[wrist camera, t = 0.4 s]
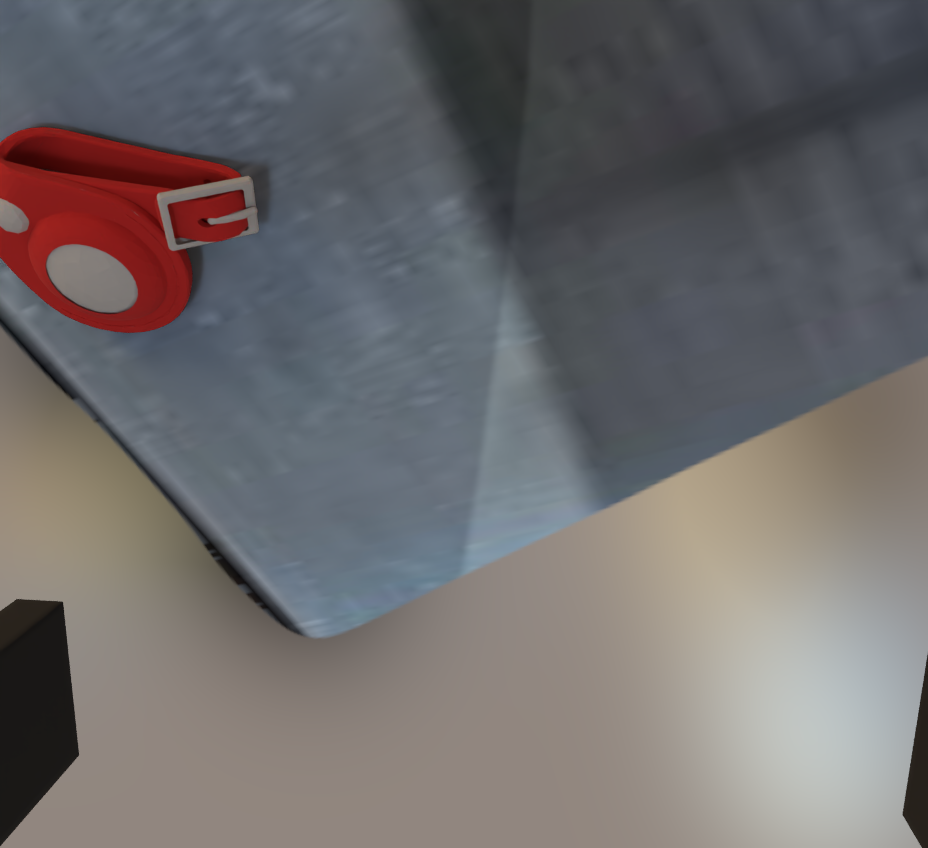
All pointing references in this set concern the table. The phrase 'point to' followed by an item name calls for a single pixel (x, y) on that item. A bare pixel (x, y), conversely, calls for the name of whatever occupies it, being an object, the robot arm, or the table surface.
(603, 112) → the table surface
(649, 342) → the table surface
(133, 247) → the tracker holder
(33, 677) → the robot arm
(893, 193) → the table surface
